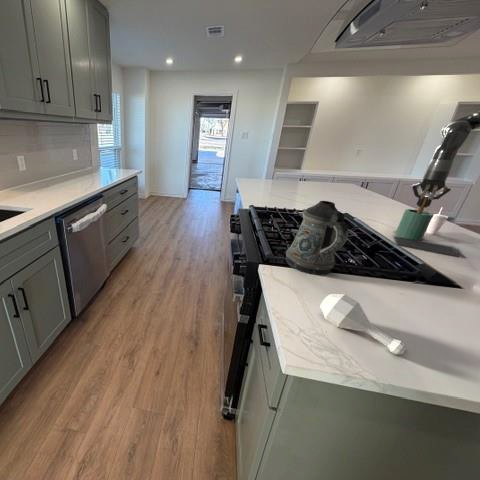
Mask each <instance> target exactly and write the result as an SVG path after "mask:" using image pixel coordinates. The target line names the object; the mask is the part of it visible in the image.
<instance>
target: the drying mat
mask: <svg viewBox="0 0 480 480" xmlns="http://www.w3.org/2000/svg"><path fill="white" fill-rule="evenodd" d="M393 238H394V240H395V243H396V245H397V246H400V247H404V248H409V249H414V250H419V251H424V252H430V253H435V254H440V255H445V256H449V257H455V258H460V255H459V253H457V252H456V250H455V249H454V248H453V246H450V245H443V244H438V243H433V242H427V241H422V240H419V241H417V240H412V239H406V238H401V237H399V236H397V235H395V236H394V237H393Z"/></svg>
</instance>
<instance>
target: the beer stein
mask: <svg viewBox="0 0 480 480" xmlns="http://www.w3.org/2000/svg"><path fill="white" fill-rule="evenodd" d="M344 221H345V214H344V213H343V212H342V211H340V210H338V208H337V207H336V204H335V202H333V201H329V200H319V201H318V202H317V203H316V204H315V205H312V206H310V207H307V208H305V209H304V210H303V211H302V222H301V224H300V226H299V228H298V230H297V233H296V235H295V237H294V239H293V241H292V243H291V245H290V246H289V247H288V248H287V250H286V252H285V263H286V264H287V265H288V266H289V267H291V268H292V269H294V270H297V271H299V272H301V273H305V274H308V275H318V276H324V275H328V274H330V273H331V271H332V270H333V268H334V267H335V264H336V260H335V253H336V252H338V251H339V250H340V249H342V248H343V247H344V246H345V244H346V243H347V241H348V238H349V228H348V226H347V225H348V224H346V223H345V222H344ZM288 259H289V260H290V261H292V262H293V263H294V264H293V263H292V262H290V261H289V260H288Z"/></svg>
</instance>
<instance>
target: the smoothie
mask: <svg viewBox="0 0 480 480" xmlns="http://www.w3.org/2000/svg"><path fill="white" fill-rule="evenodd" d="M440 207H441V208H440V210H439V212H438V213H433V214H434V215H433V217H432V219H431V221H430V223H429V225H428V228H427V230H426V233H427V234H430V235H437V233H438V232H439V231H440V229H441V228H442V227H443V225H444V224H445V223H446V221H447V220H448V219H449V216H447V215H445V214H441V213H442V210H443V209H444V207H443V206H440Z"/></svg>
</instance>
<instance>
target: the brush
mask: <svg viewBox="0 0 480 480" xmlns="http://www.w3.org/2000/svg"><path fill="white" fill-rule="evenodd" d="M428 198H429V195H425V196H424V198H423V201H422V204H421V206H420V207H418V208H417V210H418V211H417V213H418V214H422V212H423V211H424V209H425V208H426V207H425V205H426V203H427V200H428Z"/></svg>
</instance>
